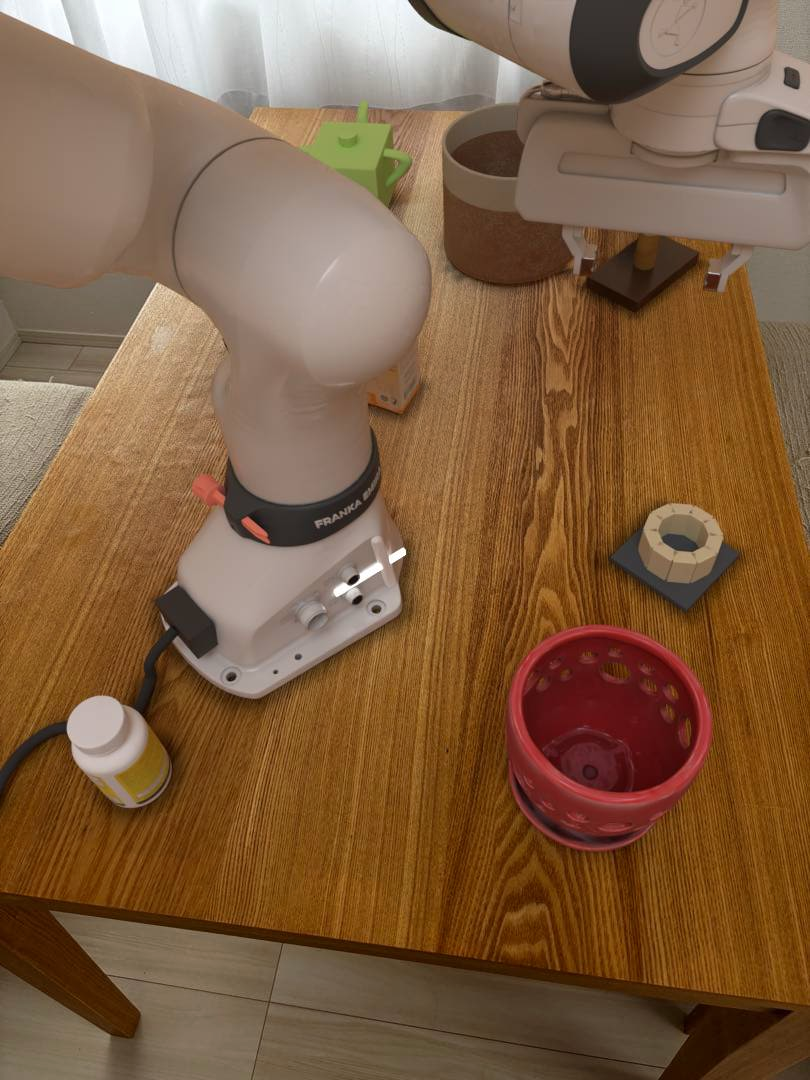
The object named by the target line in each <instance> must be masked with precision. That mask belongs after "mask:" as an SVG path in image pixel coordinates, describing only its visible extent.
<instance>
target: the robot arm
mask: <svg viewBox="0 0 810 1080" xmlns="http://www.w3.org/2000/svg"><path fill="white" fill-rule="evenodd" d="M407 1H408V3H409V5H410V6H411V7H412V9H413V10H414V11H415V13H417V15H419V17H421V18H422V19H423V21H425V22H426V23H428V25H430V26H432V27H434V28H435V29H438V30H441V31H443V32H445V33H448V34H451V35H453V36H456V37H458V38H460V39H464V40H466V41H468V42H473V43H474V44H476V45H478V46H480V47H482V48H484V49H486V50H488V51H490V52H492V53H494V54H496V55H497V56H500V57H502V58H504V59H505V60H508V61H510V62H512V63H514V64H515V65H517V66H518V67H521V68H523V69H525V70H527V71H529V72H530V73H533V74H535V75H537V76H539V77H541V78H543V80H542V81H541V84H536V85H533V86H530V87H529V88H528V89H527V90H525V91H524V92H523V93H522V95H521V96H520V98H519V100H518V102H519V103H518V107H517V124H516V128H517V133H518V136H519V138H520V140H521V141H522V143H523V144H524V145H525V147H524V150H523V154H522V158H521V162H520V167H519V172H518V177H517V183H516V191H515V200H514V206H515V208H516V210H517V211H518V212H519V214H520V215H521V216H522V218H523V219H524V220H527V221H533V222H543V223H552V224H561V225H563V229H562V237H563V239H564V241H565V242H566V244H567V246H568V248H569V250H570V252H571V253H572V255H573V257H574V260H573V269H572V275H573V276H582V277H587V276H589V277H592V276H593V272H594V271H595V268H596V262H597V254H598V248H599V246H598V244H593V243H588V242H587V239H586V237H585V235H584V233H583V230H584V228H589V229H597V230H606V231H615V232H616V231H617V232H624V233H632V234H639V233H641V234H650V235H659V236H666V237H668V238H677V239H686V240H695V241H696V240H697V241H703V242H704V241H705V242H713V243H714V242H715V243H722V244H731V248H730V249H729V250H728V251H727V252H726V253H725V254H724V255H723V256H722V257H721V258H715V257H714V258H713V257H709V259H708V262H707V266H706V270H705V274H704V276H703V277H704V279H703V286H702V291H704V292H705V291H706V292H713V293H719V294H723V293H724V292H725V289H726V287H727V283H728V280H729V277H730V276H731V275H733V274H734V273H735V272H736V271H737V270H739V269H740V268H741V267H742V266H743V265H745V264H746V263H747V262H748V261H749V260H751V259H752V256H753V253H754V250H755V247H759V248H768V249H777V250H787V251H792V252H793V251H796V252H797V251H800V250H802V249H803V248H805V247H806V246H808V245H810V63H808V62H806V61H804V60H802V59H800V58H799V59H798V58H796V57H794V56H792V55H790V54H787V53H785V52H783V51H780V50H779V49H776V44H777V38H778V28H779V27H778V26H779V25H778V15H779V7H780V2H781V0H407ZM297 147H298V146H295V145H293V144H291V143H290V142H289V141H286V140H285V139H282V138H281V137H280V136H278V135H276V134H275V133H273V132H271V131H269V130H268V129H266V128H264V127H262V126H261V125H259V124H257V123H255V122H253V121H252V120H250V119H248V118H247V117H245V116H243V115H241V114H239V113H238V112H236V111H235V110H233V109H231V108H230V107H227V106H225V105H223V104H220V103H218V102H216V101H213V100H212V99H209V98H206V97H204V96H202V95H201V94H197V93H194V92H192V91H190V90H189V89H185V88H182V87H181V86H177V85H176V84H173V83H170V82H168V81H166V80H163V79H160V78H157V77H155V76H152V75H150V74H147V73H145V72H141V71H140V70H139V71H138V70H136V69H133V68H130V67H127V66H124V65H122V64H118V63H116V62H113V61H111V60H109V59H107V58H104V57H101V56H99V55H97V54H95V53H93V52H90V51H88V50H86V49H84V48H81V47H79V46H76V45H75V44H73V43H71V42H69V41H66V40H64V39H62V38H59V37H57V36H55V35H53V34H51V33H49V32H47V31H45V30H42V29H40V28H38V27H35V26H33V25H31V24H29V23H27V22H25V21H22V20H20V19H18V18H16V17H13V16H12V15H9V14H7V13H4V12H2V11H0V278H6V279H11V280H15V281H22V282H24V283H25V282H26V283H30V284H35V285H41V286H45V287H50V288H55V289H60V290H71V289H79V288H82V287H86V286H88V285H90V284H93V283H95V282H97V281H98V280H100V279H102V278H103V277H104V276H106V275H107V274H123V275H124V274H125V275H132V276H138V277H142V278H145V279H147V280H149V281H152V282H155V283H157V284H160V285H161V286H163V287H165V288H167V289H169V290H171V291H172V292H174V293H176V294H177V295H180V296H181V297H183V298H185V299H186V300H188V301H190V303H193V304H194V305H195V306H196V307H198V308H199V309H201V310H202V311H203V313H204V314H205V315H206V316H207V318H208V319H209V321H210V322H211V323H212V324H213V326H214V327H215V328H216V329H217V331H218V333H219V335H220V336H221V338H222V337H223V339H224V341H225V343H226V345H227V347H228V350H229V353H228V352H227V354H226V355H225V356H224V357H223V359H222V360H221V362H219V364H218V366H217V368H216V369H215V371H214V373H213V374H212V375H213V376H212V379H211V384H210V394H209V395H210V402H211V406H212V408H213V411H214V415H215V417H216V420H217V423H218V427H219V430H220V433H221V437H222V439H223V443H224V446H225V449H226V451H227V454H228V455H227V461H226V465H225V466H226V467H225V473H224V480H223V484H221V483H219V482H218V481H217V480H216V478H215V477H214V476H213V475H212V474H209V473H203V474H200V475H199V476H198V477H196V479H194V481H193V483H192V486H191V492H192V494H193V495H194V496H195V497H197V498H198V499H200V500H202V501H203V503H204V504H205V505H206V506H207V507H214V508H213V509H212V511H211V512H210V514H209V515H208V517H207V518H206V519H205V521H204V523H203V524H202V525H201V527H200V529H199V530H198V532H197V533H195V536H193V538H192V540H191V542H190V543H189V544H188V546H187V547H186V549H185V550H184V552H182V554H181V556H180V558H179V560H178V563H177V567H176V568H177V569H176V580H175V581H174V582H173V584H172V585H171V586H169V588H168V589H167V590H166V591H165V592H164V593H163V594H162V595H161V596H159V597H158V598H157V599H155V600H154V603H155V605H156V607H157V609H158V611H159V613H160V618H161V621H162V624H163V627H164V630H165V632H164V633H163V634H162V635H161V636H160V638H159V639H158V640H156V642H155V643H154V644H153V646H152V647H151V648H150V650H149V651H148V653H147V654H146V657H145V658H144V662H143V665H142V667H143V672H144V675H145V678H144V681H143V683H142V686H141V689H140V692H139V693H138V696H137V698H136V701H135V703H134V704H133V706H132V708H133V709H135V710H136V711H137V712H139V713H140V715H141V716H143V713H144V711H145V709H146V708H147V705H148V703H149V700H150V698H151V697H152V693H153V690H154V688H155V685H156V682H157V678H158V673H157V669H156V664H157V661H158V660H159V658H160V657H161V655H162V654H163V653H164V651H165V650H166V649H167V648H168V647H169V646H170V645H171V644H172V645H173V646H174V649H175V650H176V651H177V652H178V653H179V655H181V657H182V658H183V659H184V660H185V661H186V663H188V665H189V666H191V668H192V669H194V670H195V671H196V672H197V673H198V674H199V675H200V676H201V677H203V678H204V679H205V680H206V681H208V682H209V683H210V684H212V685H213V686H215V687H216V688H218V689H220V690H222V691H224V692H226V693H228V694H230V695H233V696H237V697H239V698H245V699H249V700H259V699H261V698H264V697H265V696H267V695H268V694H271V693H272V692H274V691H275V690H277V689H279V688H281V687H282V686H284V685H286V684H287V683H289V682H291V681H292V680H294V679H295V678H297V677H299V676H301V675H302V674H304V673H306V672H307V671H309V670H310V669H312V668H314V667H315V666H318V665H319V664H321V663H322V662H324V661H326V660H327V659H329V658H330V657H332V656H335V655H336V654H337V653H339V652H342V651H343V650H344V649H346V648H347V647H349V646H351V645H352V644H354V643H356V642H357V641H359V640H361V639H362V638H364V637H366V636H367V635H369V634H371V633H372V632H374V631H376V630H378V629H380V628H381V627H382V626H385V625H387V624H388V623H389V622H391V621H392V620H394V619H396V618H397V617H398V616H400V614H401V613H402V612H403V607H404V606H403V603H404V602H403V601H404V600H403V596H402V592H401V588H400V576H401V573H402V568H403V565H404V559H405V556H406V554H407V552H406V549H405V546H404V540H403V536H402V534H401V532H400V529H399V527H398V525H397V524H396V522H395V521H394V519H393V518H392V516H391V514H390V512H389V510H388V507H387V506H386V502H385V498H384V496H383V492H382V488H381V483H382V476H383V474H382V464H381V457H380V451H379V444H378V440H377V436H376V433H375V431H374V429H373V427H372V426H371V423H370V411H369V403H368V401H367V391H366V383H368V382H370V381H372V380H374V379H376V378H378V377H379V376H381V375H383V374H384V373H386V372H387V371H389V370H390V369H391V368H393V367H394V366H395V365H396V364H397V363H398V362H399V361H400V360H401V359H402V358H403V357H404V356H405V355H406V353H407V352H408V351H409V350H410V348H411V347H412V346H413V344H414V343H415V341H416V339H417V338H419V336H420V334H421V332H422V330H423V328H424V325H425V322H426V320H427V317H428V314H429V309H430V305H431V299H432V291H433V274H432V273H433V272H432V265H431V260H430V258H429V255H428V252H427V250H426V248H425V246H424V245H423V243H421V241H420V239H418V238H417V236H416V235H415V234H414V233H413V232H412V231H411V230H410V229H409V228H408V226H407V225H405V224H404V223H403V222H402V221H401V220H400V218H399V217H398V216H397V215H396V214H395V213H394V212H393V211H391V209H390V208H389V207H388V208H387V207H386V206H385V205H384V204H383V203H382V202H381V201H380V200H379V199H378V198H377V197H376V196H375V195H374V194H373V193H372V192H371V191H369V190H368V189H366V188H365V187H363V186H361V185H360V184H358V183H356V182H355V181H353V180H351V179H350V178H348V177H346V176H344V175H343V174H341V173H339V172H338V171H336V170H334V169H333V168H331V167H329V166H327V165H326V164H324V163H322V162H321V161H319V160H317V159H316V158H314V157H312V156H310V155H309V154H307V153H305V152H304V151H302V150H300V149H299V148H297ZM223 339H222V340H223ZM228 350H227V351H228ZM376 610H379V611H380V612H377V613H375V612H374V611H376ZM232 677H235V679H233V680H232V681H229V679H230V678H232ZM67 723H68V721H59V722H54V723H51V724H50V725H46V726H45V727H43V728H41V729H39V730H38V731H36V732H35V733H34V734H32V735H31V736H29V737H28V738H26V739H25V741H23V742H22V743H21V744H20V745H19V746H18V747H17V748H16V749H15V750H14V751H13V752H12V753H11V754H10V756H9V757H8V758H7V760H6V761H5V762H4V764H3V765H2V766H1V769H0V797H1V796H2V794H3V793H4V790H5V788H6V786H7V784H8V782H9V780H10V779H11V777H12V776H13V774H14V773H15V770H16V769H17V768H18V766H19V765H20V764H21V763H22V762H23V760H24V759H25V758H26V757H27V756H28V755H29V754H30V753H31V752H32V751H33V750H34V749H36V748H37V747H38V746H39V745H41V744H42V743H44V742H45V741H47V740H49V739H51V738H52V737H55V736H57V735H60V734H67Z"/></svg>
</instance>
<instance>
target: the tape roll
mask: <svg viewBox="0 0 810 1080" xmlns="http://www.w3.org/2000/svg"><path fill="white" fill-rule="evenodd" d="M648 514H649V515H648V516H647V519H646V521H645V522H644V524H645V526H644V528H643V532H642V535H641V539H640V543H639V547H638V551H639V554H640V556H641V559H642V561H643V564H644V566H645V567H647V570H649V571H650V572H652V573H653V574H655V575H656V576H658V577H660V578H661V579H663V580H664V581H665V580H666V579H667V582H677V583H688V584H689V583H690V582H691V583H693V582H695V581H697V580H699V579H700V578H702V577H704V576H706V575H708V574H709V573H710V572H711V570H712V567H713V565H714V562H715V560H716V557H717V555H718V552H719V549H720V546H721V543H722V542H723V540H724V533H723V531H722V529H721V528H720V525H719V523H718V521H717V519H716V518H715V517H714V515H712V514H710V513H709V512H707V511H705V510H704V509H702V508H700V507H699V506H697V505H693V504H689V503H676V502H670V503H666V504H664V505H662V506H661V507H660V506H659V507H658V508H656V509H654V510H652V511H651V512H649V513H648ZM667 534H676V535H684V536H686V537H687V538H689V539H690V540H692V541H694V542H695V543H696V544H697V546H698V548H699V549H698V550H696V551H694V552H684V551H676V550H674V549H672V548H671V547H669V546H668V545H666V544H665V543H663V541H662V539H661V537H663V536H665V535H667Z"/></svg>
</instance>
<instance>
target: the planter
mask: <svg viewBox="0 0 810 1080" xmlns="http://www.w3.org/2000/svg"><path fill="white" fill-rule="evenodd" d="M518 103H519V101H517V102H516V101H515V102H513V101H512V102H501V103H494V104H490V105H489V104H488V105H484V106H481V107H477V108H475V109H472V110H470V111H468V112H465V113H464V114H462V115H460V116H459V117H458V118H456V119H454V120H453V121H452V122H451V123H450V124H449V125H448V127H446V129H445V130H444V133H443V135H442V137H441V138H442V139H441V160H442V162H441V163H442V165H441V166H442V169H441V170H442V208H443V209H442V210H443V211H442V212H443V246H444V251H445V254H446V257H448V259H449V261H450V262H451V264H452V265H453V266H454V267H456V268H457V269H458V270H459V271H461V272H463V273H464V274H466V275H467V276H469V277H472V278H475V279H478V280H481V281H483V282H488V283H495V284H502V285H503V284H506V285H510V284H511V285H512V284H514V285H515V284H525V283H531V282H535V281H538V280H542V279H545V278H547V277H550V276H552V275H554V274H556V273H557V272H559V271H561V270H562V269H563V268H565V266H567V265H568V264H569V262H570V261H571V260H572V258H573V257H574V256H573V255H572V253H571V252H570V250H569V248H568V246H567V244H566V242H565V241H564V239H563V237H562V229H563V225H561V224H552V223H543V222H533V221H527V220H524V219H523V218H522V216H521V215H520V214H519V212H518V211H517V210H516V208H515V206H514V200H515V191H516V183H517V177H518V172H519V167H520V162H521V158H522V154H523V150H524V147H525V145H524V144H523V143H522V141H521V140H520V138H519V136H518V133H517V128H516V124H517V107H518Z"/></svg>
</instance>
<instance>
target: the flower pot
mask: <svg viewBox="0 0 810 1080" xmlns="http://www.w3.org/2000/svg"><path fill="white" fill-rule="evenodd" d="M613 649H616V650H619V651H615V650H613ZM587 653H590V654H592V655H590V656H582V655H583V654H587ZM610 663H611V664H614V663H615V664H619V665H622V666H623V667H624V668H626V670H627V671H628V672H629V674H630V675H629V677H626V678H619V677H615V676H613V675H611V674H609V673H607V672H606V671H605V670H604V668H603V666H604V665H606V664H610ZM647 666H648V667H647ZM649 667H650V668H649ZM565 671H569V672H567V673H566V674H564V675H561V674H562V673H563V672H565ZM542 679H544V680H543V681H542ZM645 680H648V681H649V682H651V683H652V684H653V685H654V686H655V687H656V690H654V689H652V688H650V687H649V686H648V685H647V684H646V682H645ZM541 681H542V683H540V682H541ZM539 683H540V684H539ZM670 686H671V687H672V688H673V689H674V690H675V692H676V693H677V697H676V696H675V695H674V694H673V693H672V691H671V688H670ZM667 705H668V706H669V708H670V709H671V710H672V712H673V715H674V716H673V717H674V719H673V718H672V717H671V716H670V715H669V713H668V710H667ZM712 716H713V715H712V710H711V706H710V702H709V699H708V696H707V694H706V692H705V690H704V688H703V686H702V684H701V682H700V680H699V678H698V677H697V676H696V674H695V673H694V671H693V670H692V669H691V667H689V665H688V664H687V663H686V662H685V661H684V660H683V659H682V658H680V657H679V656H678V655H677V654H676V653H675V652H674V651H673V650H671V649H670V648H668V646H667V645H664V644H663V643H661V642H659V641H658V640H657V639H655V638H653V637H651V636H649V635H646V634H644V633H641V632H639V631H636V630H633V629H630V628H627V627H622V626H618V625H609V624H597V623H596V624H583V625H577V626H574V627H570V628H569V627H568V628H566V629H563V630H560V631H558V632H556V633H553V634H552V635H551V634H550V635H549V636H548V637H546V638H544V639H542V641H539V643H537V644H536V645H535V646H534V647H533V648H532V649H531V650H530V651H529V652H528V653H527V654H526V655H525V656H524V658H523V659H522V661H521V662H520V664H519V665H518V666H517V669H516V671H515V673H514V675H513V678H512V680H511V684H510V688H509V691H508V696H507V700H506V707H505V718H504V737H505V743H506V744H505V745H506V750H507V755H508V761H507V764H508V765H507V773H508V774H507V775H508V781H509V786H510V789H511V793H512V796H513V798H514V801H515V803H516V805H517V806H518V809H519V810H520V812H521V813H522V814H523V816H524V817H525V818H526V819H527V821H528V822H530V824H532V826H533V827H534V828H536V830H538V831H539V832H540V833H541V834H542V835H544V836H545V837H547V838H548V839H549V840H551V841H554V842H556V843H557V844H560V845H561V846H564V847H566V848H570V849H572V850H576V851H581V852H589V853H604V852H605V853H606V852H611V851H615V850H619V849H623V848H625V847H627V846H629V845H631V844H633V843H635V842H637V841H639V840H640V839H641V838H642V837H644V836H645V835H646V834H647V833H648V832H649V831H651V829H652V828H653V827H654V826H655V824H656V823H657V822H658V820H659V819H660V818H662V817H663V816H664V815H665V814H667V813H668V812H669V811H670V810H672V809H673V808H674V807H675V806H676V805H677V804H678V803H679V802H680V800H681V799H683V797H684V796H685V794H686V793H687V792H688V790H689V789H690V787H691V786H692V784H693V783H694V781H695V780H696V779H697V777H698V775H699V774H700V771H701V770H702V768H703V767H704V765H705V762H706V760H707V758H708V755H709V753H710V750H711V745H712V741H713V729H714V728H713V727H714V726H713V717H712ZM687 720H688V721H689V725H690V736H689V743H688V738H687V732H686V730H687V727H686V726H687Z"/></svg>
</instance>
